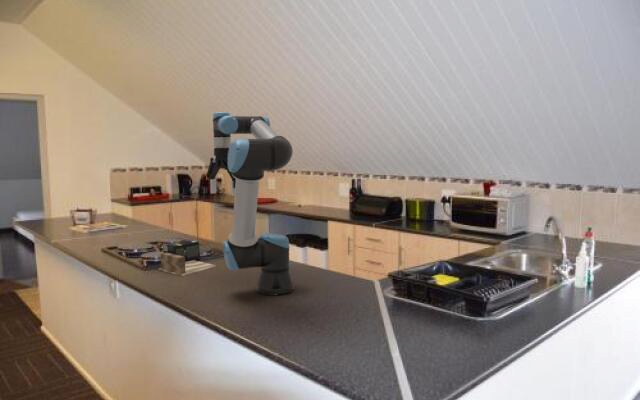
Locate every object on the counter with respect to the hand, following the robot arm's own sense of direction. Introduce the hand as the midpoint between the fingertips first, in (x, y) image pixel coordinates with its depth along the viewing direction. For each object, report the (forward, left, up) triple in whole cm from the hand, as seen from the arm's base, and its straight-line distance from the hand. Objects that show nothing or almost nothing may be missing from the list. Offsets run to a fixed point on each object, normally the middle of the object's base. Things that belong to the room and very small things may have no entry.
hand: (223, 194), depth 223 cm
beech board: (+21, +5, -37) cm, 43 cm away
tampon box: (+35, +6, -32) cm, 48 cm away
